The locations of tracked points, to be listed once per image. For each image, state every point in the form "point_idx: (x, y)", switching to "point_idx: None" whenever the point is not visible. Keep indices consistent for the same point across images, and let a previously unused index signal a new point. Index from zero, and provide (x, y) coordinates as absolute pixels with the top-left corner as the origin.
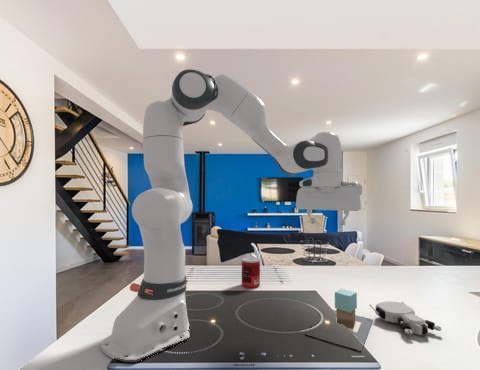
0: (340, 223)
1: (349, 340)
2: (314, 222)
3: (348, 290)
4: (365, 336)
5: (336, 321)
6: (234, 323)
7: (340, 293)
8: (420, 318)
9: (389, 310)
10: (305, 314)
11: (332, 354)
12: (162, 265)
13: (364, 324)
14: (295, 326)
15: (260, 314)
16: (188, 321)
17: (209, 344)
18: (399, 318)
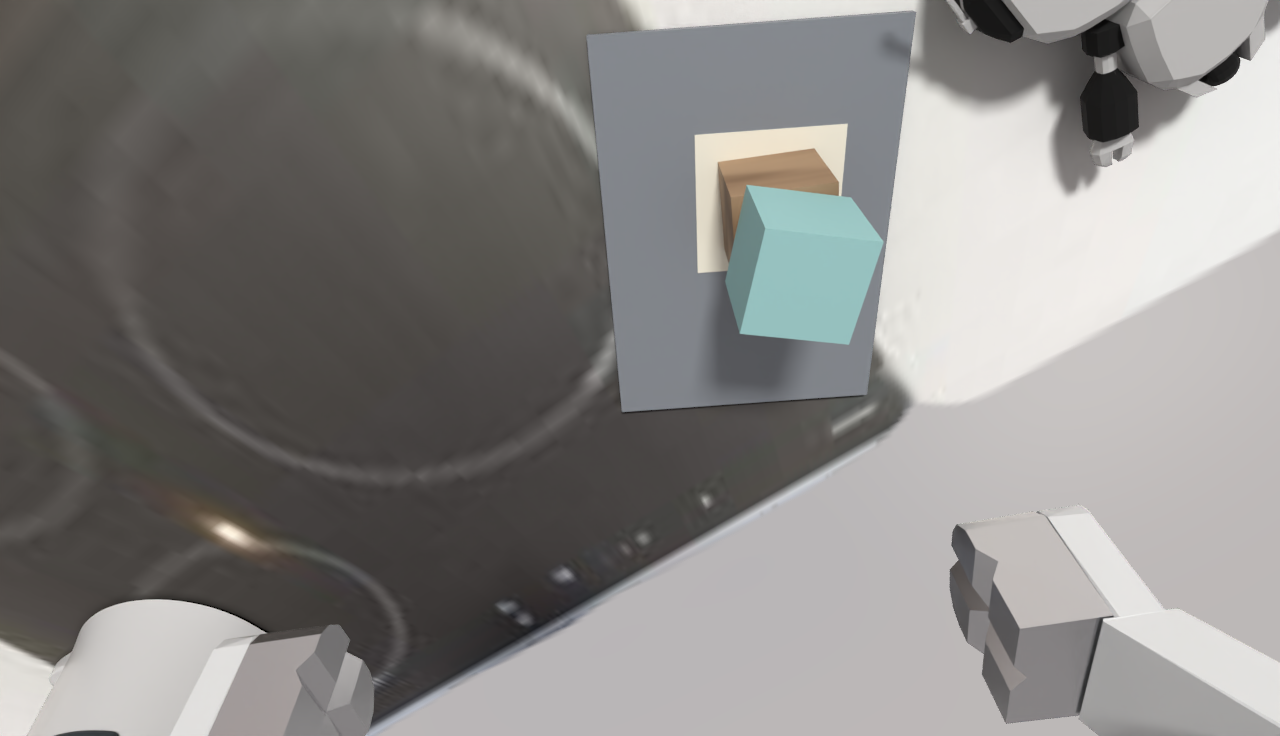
0: (973, 628)
1: None
2: (372, 708)
3: (822, 237)
4: (877, 274)
5: (727, 259)
6: (317, 500)
7: (780, 333)
8: (1252, 4)
9: (1063, 2)
10: (513, 208)
11: (766, 460)
12: None
13: (866, 136)
14: (547, 367)
15: (323, 367)
16: (216, 633)
17: (388, 629)
18: (1104, 39)
